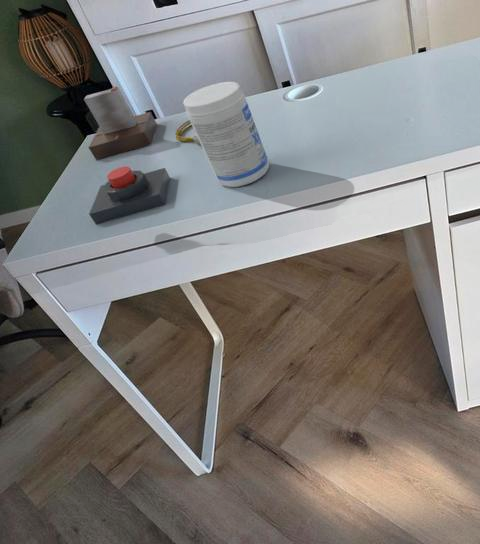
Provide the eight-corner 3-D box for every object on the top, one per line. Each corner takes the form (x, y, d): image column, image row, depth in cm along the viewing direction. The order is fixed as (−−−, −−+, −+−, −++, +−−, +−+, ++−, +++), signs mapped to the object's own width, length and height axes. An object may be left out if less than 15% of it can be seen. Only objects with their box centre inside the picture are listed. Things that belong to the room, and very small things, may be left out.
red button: (111, 191, 83) (104, 181, 81) (115, 180, 86) (109, 170, 84) (134, 185, 83) (128, 174, 81) (137, 174, 86) (131, 164, 84)
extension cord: (173, 157, 98) (169, 148, 96) (179, 126, 110) (175, 118, 108) (232, 140, 98) (228, 131, 97) (232, 112, 110) (229, 103, 109)
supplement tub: (279, 171, 84) (250, 87, 75) (230, 195, 81) (194, 111, 71) (256, 155, 91) (226, 76, 81) (210, 177, 88) (173, 98, 78)
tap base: (96, 160, 104) (87, 146, 102) (106, 137, 113) (99, 125, 111) (150, 144, 105) (143, 131, 103) (156, 123, 114) (150, 110, 112)
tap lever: (104, 134, 106) (83, 98, 101) (106, 130, 108) (85, 94, 103) (135, 126, 106) (116, 89, 101) (137, 122, 108) (117, 85, 103)
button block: (96, 224, 82) (82, 205, 80) (107, 195, 90) (95, 177, 87) (165, 205, 83) (154, 185, 80) (170, 178, 91) (160, 158, 88)
